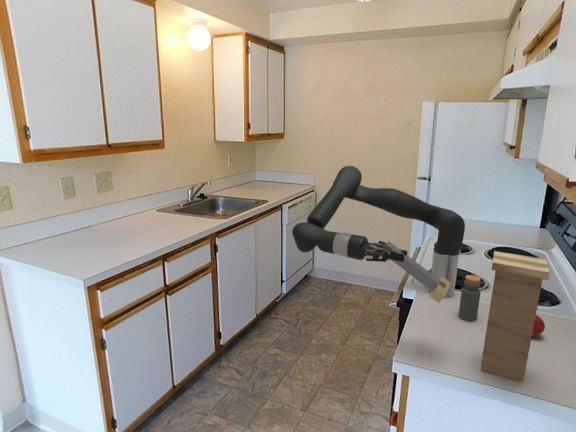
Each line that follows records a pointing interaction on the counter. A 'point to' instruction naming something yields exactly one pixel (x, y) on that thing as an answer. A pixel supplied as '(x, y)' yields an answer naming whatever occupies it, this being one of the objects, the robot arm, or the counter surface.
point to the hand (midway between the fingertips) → (405, 256)
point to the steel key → (421, 274)
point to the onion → (538, 326)
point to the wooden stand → (512, 314)
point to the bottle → (470, 298)
